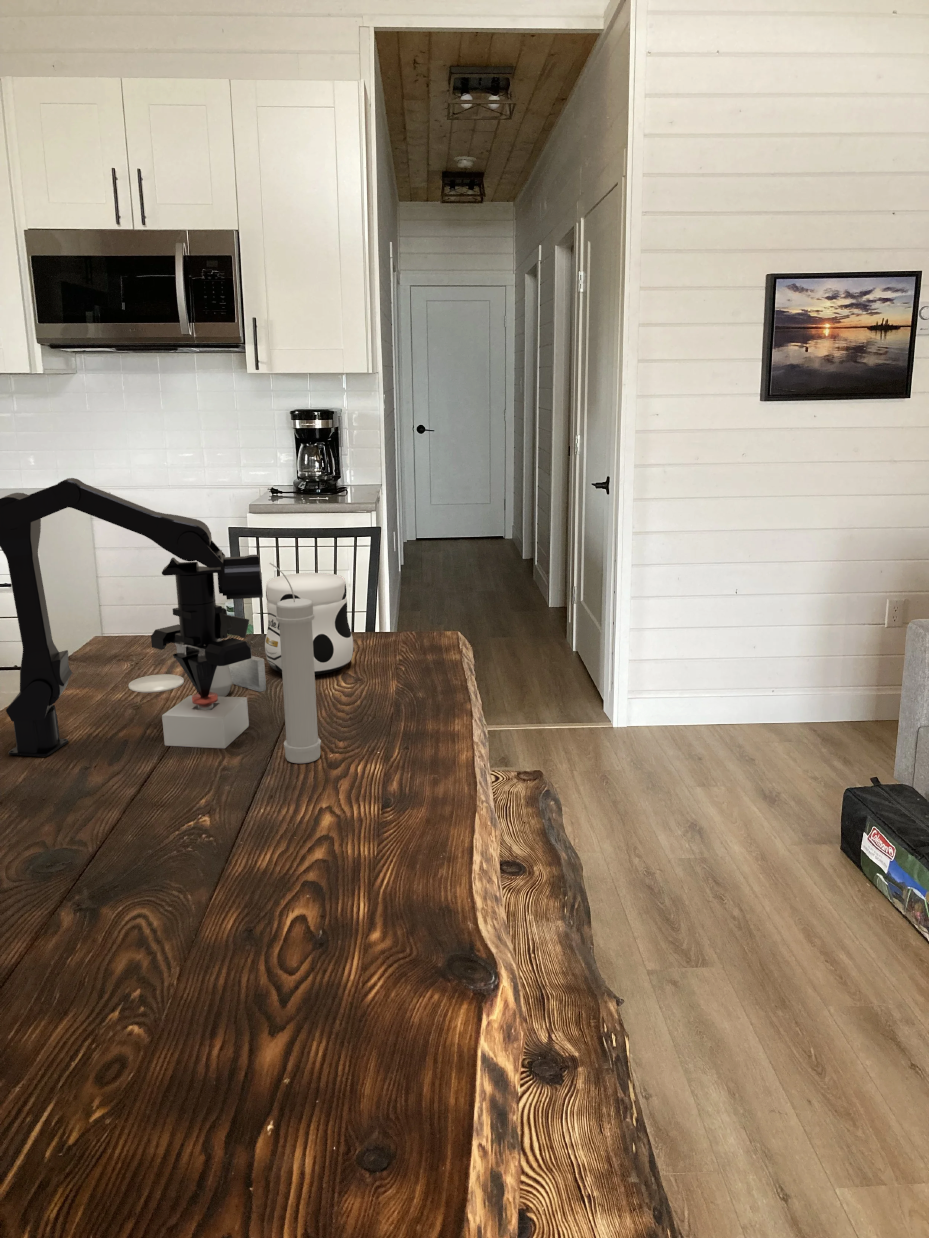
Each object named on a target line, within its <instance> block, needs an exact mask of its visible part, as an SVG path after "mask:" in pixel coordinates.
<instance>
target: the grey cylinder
mask: <svg viewBox="0 0 929 1238" xmlns="http://www.w3.org/2000/svg"><path fill="white" fill-rule="evenodd" d="M269 565H271V566H273V567H274V568H275V569H277V571H279V572H280V573H281V575H282V576H284V577H285V578H286V580H287V582H288V583H289V586H290V588H291V591H292V594H293V599H287V600H282V601H280V602H278V603H277V605H276V609H277V616H276V620H277V622H279V627H280V644H281V660H282V673H281V675H282V676H281V677H282V690H283V693H282V694H283V708H284V724H285V740H284V742H283V747H284V752H285V753H284V755H285V756H284V757H285V760H287V762H290V763H294V764H308V763H313V762H315V761H317V760H318V759H320V756H321V744H322V740H321V738H319V733H318V716H317V715H318V714H317V696H316V695H317V694H316V692H317V691H316V677H315V672H314V653H313V634H312V620H313V619H314V618H315V617H314V614H313V603H312V601H311V600H307V599H295V598H294V593H293V590H292V587H291V585H290V582H289V581H288V579H287V577H286V576H285V575H286V574H284V572H283V571H282V570H281V569H280V568H279V567H278V566H276V565H275V564H274V563H272V562H269Z"/></svg>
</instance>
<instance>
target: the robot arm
mask: <svg viewBox="0 0 929 1238" xmlns="http://www.w3.org/2000/svg"><path fill="white" fill-rule="evenodd" d="M67 508H70V509H74V510H77V511H79V512H82V513H85V514H87V515H90V516H92V517H95V518H97V519H99V520H102V521H105V522H107V523H110V524H112V525H115V526H118V527H121V528H123V529H126V530H128V531H131V532H134V533H136V534H138V535H141V536H144V537H146V538H147V539H149V540H151V541H152V542H153V543H154V544H156V545H158V546H159V547H161V548H162V549H163V550H164V551H167V552H168V553H170V554H172V555H173V556H175V557H171V559H170V560H169V563H168V564H167V565H166V566H164V568H163V569H162V571H161V575H162V576H165V577H166V576H175V585H176V586H175V587H176V599H177V607H175V608H172V616H175V617H176V616H177V617H178V622H179V624H174V625H170V626H165V627H161V628H157V629H155V630H154V631H153V632H152V634H151V635H150V640H151V641H150V643H151V648H153V649H157V650H165V649H166V647H167V645H168V644H174V646H176V653H173V654H172V657H173V659H176V661H177V662H178V664H179V665H180V667H181V668H182V669H183V671H184V673H185V674H186V675H187V677H188V678H189V680H190V682H191V683H192V685H193V687H194V688H195V690H196V692H197V694H198V693H199V695H200V696H202V697H206V696H208V695H209V692H210V688H211V685H212V681H213V677H214V674H215V671H216V668H217V666H226V665H229V664H233V663H237V662H240V661H244V660H247V659H251V658H252V656H253V655H252V654H253V653H252V645H251V644H250V643H249V642H247V641H246V640H242V639H246V637H247V633H248V632H247V631H248V629H249V623H250V619H249V618H244V617H241V616H234V615H230V614H228V611H227V609H226V608H224V607H222V605H218V604H217V603H216V589H215V577H214V574H216V575H217V588H218V594H222V596H223V597H226V600H227V601H228V600H242V599H260V598H262V599H263V598H264V591H263V587H264V586H263V576H262V575H263V573H262V571H261V565H260V555H259V554H249V555H243V556H241V555H240V556H226V555H225V553H224V552H223V550H222V549H220V547H219V546H217V544H216V543H215V542H214V541H213V538H212V532H211V530H210V528H209V526H208V525H207V524H206V523H205V522H203V521H201V520H199V519H197V518H191V517H187V516H182V515H177V514H171V513H163V512H159V511H155V510H152V509H150V508H147V507H145V506H142V505H139V504H138V503H135V502H133V501H130V500H127V499H125V498H123V497H119V496H117V495H114V494H111V493H110V492H107V491H105V490H102V489H99V488H96V487H95V486H91V485H89V484H86V483H85V482H83V481H81V480H80V479H78V478H74V477H69V478H66V479H64V480H63V479H62V481H60V482H58V483H56V484H54V485H51V486H49V487H46V488H43V489H41V490H39V491H36V492H33V493H30V494H26V493H24V492H14V493H10V494H8V495H5V496H3V497H1V498H0V549H1V551H2V553H3V554H4V556H5V558H6V561H7V566H8V567H7V568H8V572H9V577H10V578H9V579H10V583H11V584H10V585H11V587H12V594H13V595H12V596H13V601H14V605H15V611H16V615H17V623H18V627H19V633H20V639H21V640H20V641H21V644H22V657H21V663H20V670H19V692H18V693H17V694H16V696H15V697H14V699H13V700H12V701H11V702H10V704H9V705H8V706H7V708H6V709H5V712H6V714H7V715H8V717H9V719H10V721H11V722H13V728H14V729H13V730H14V736H15V742H16V743H15V744H16V746H15V747H13V748H12V749H10V750H8V753H7V754H8V755H9V756H24V757H26V756H27V757H39V758H40V757H41V758H42V757H43V758H45V757H48V756H50V755H51V754H53V753H54V752H56V751H57V750H59V749H60V748H62V747H63V746H65V745H67V744H68V743H69V739H68V738H60V730H59V729H60V728H59V720H58V715H57V711H56V710H57V709H56V705H55V703H56V702H57V701H58V700H59V698H60V697H61V695H62V694H63V692H64V691H65V690H66V688H67V686H68V684H69V679H70V678H71V676H72V674H73V670H71V667H70V664H69V650H68V649H67V650H61V651H60V650H59V649H58V648H57V646H56V644H55V642H54V640H53V636H52V629H51V624H50V618H49V613H48V612H49V610H48V607H47V601H46V600H47V599H46V594H45V588H44V582H43V578H42V571H41V565H40V558H39V546H40V538H41V529H42V527H41V526H42V525H41V524H42V519H43V518H46V517H48V516H50V515H52V514H55V513H58V512H60V511H62V510H65V509H67ZM176 557H177V558H178V559H180V560H182V561H181V562H180V561H178V560H177V558H176ZM199 564H201V565H203V566H200V565H199ZM228 635H231V636H237V637H239V638H242V639H239V638H234V637H231V638H228ZM217 639H221V640H222V641H217Z"/></svg>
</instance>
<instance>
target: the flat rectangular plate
mask: <svg viewBox="0 0 929 1238" xmlns="http://www.w3.org/2000/svg"><path fill="white" fill-rule="evenodd" d="M229 669H230V672H231V676H232V680H233V681H232V685H234V686H235V685H236V686H238V687H242V688H245V689H249V690H253V691H256V692H264V691H266V690H267V683H266V681H267V680H266V667H265V659H264V658H261V657H258V656H254V655H252V658H251V659H247V660H244V661H240V662H237V663H233V664H229Z"/></svg>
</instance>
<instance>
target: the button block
mask: <svg viewBox="0 0 929 1238" xmlns="http://www.w3.org/2000/svg"><path fill="white" fill-rule="evenodd" d="M193 695H194V694H192V695H191V694H190V695H187V697H185V698H184V699H182V700H181V701H179V702H178V703H177V704H176V705H174V706H173V707H171V708H170V709H169V710H167V711H166V712H165V713H163V714H162V715H161V720H162V728H163V740H164V741H163V742H164V746H168V747H191V748H206V749H207V748H210V749H211V748H212V749H226V748H227V747H228V746H229V745H230V744H231V743H232V742H234V741H235V740H236V739H237V738H238V737H239V736H240V735H241V734H242V733H243V732H244V731H245V730H246V729H247V728H249V726H250V721H249V710H248V709H249V708H248V697H244V696H240V697H239V696H225V697H223V696H218V701H217V702H215V703H213V709H212V710H198V705H197V704H193V703H192V696H193Z"/></svg>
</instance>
